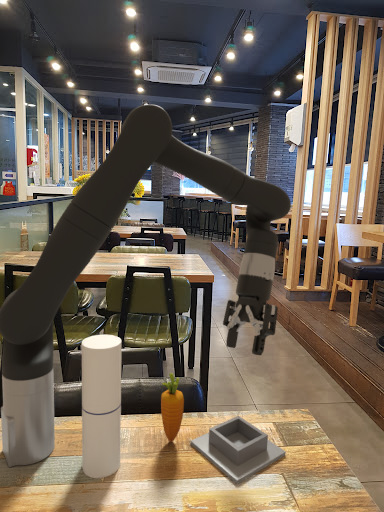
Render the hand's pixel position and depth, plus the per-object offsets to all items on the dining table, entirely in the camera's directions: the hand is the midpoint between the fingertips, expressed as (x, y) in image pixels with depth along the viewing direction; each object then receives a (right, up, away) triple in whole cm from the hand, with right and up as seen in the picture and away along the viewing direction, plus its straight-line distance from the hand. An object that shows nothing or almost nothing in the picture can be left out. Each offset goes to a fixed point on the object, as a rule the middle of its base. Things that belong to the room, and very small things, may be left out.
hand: (243, 350), depth 79 cm
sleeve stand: (-1, -20, -1) cm, 21 cm away
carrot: (-15, -20, +1) cm, 25 cm away
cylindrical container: (-29, -20, -7) cm, 36 cm away
